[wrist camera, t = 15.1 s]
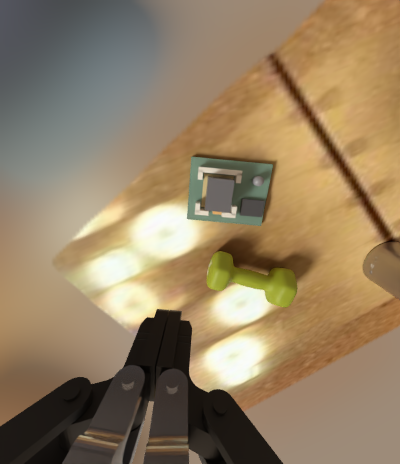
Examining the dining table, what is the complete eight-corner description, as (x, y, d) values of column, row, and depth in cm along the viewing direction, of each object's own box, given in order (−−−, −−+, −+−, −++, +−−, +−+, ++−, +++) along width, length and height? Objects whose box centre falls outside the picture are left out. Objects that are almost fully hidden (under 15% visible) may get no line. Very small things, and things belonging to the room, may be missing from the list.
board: (271, 164, 34) (277, 164, 32) (259, 224, 38) (264, 229, 35) (191, 156, 34) (190, 156, 31) (187, 217, 38) (186, 221, 35)
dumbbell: (290, 263, 41) (307, 283, 34) (274, 294, 43) (288, 318, 36) (214, 242, 39) (217, 257, 33) (203, 275, 42) (203, 296, 35)
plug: (230, 178, 34) (234, 180, 29) (226, 209, 36) (229, 215, 31) (207, 176, 34) (208, 177, 29) (204, 207, 36) (204, 213, 31)
